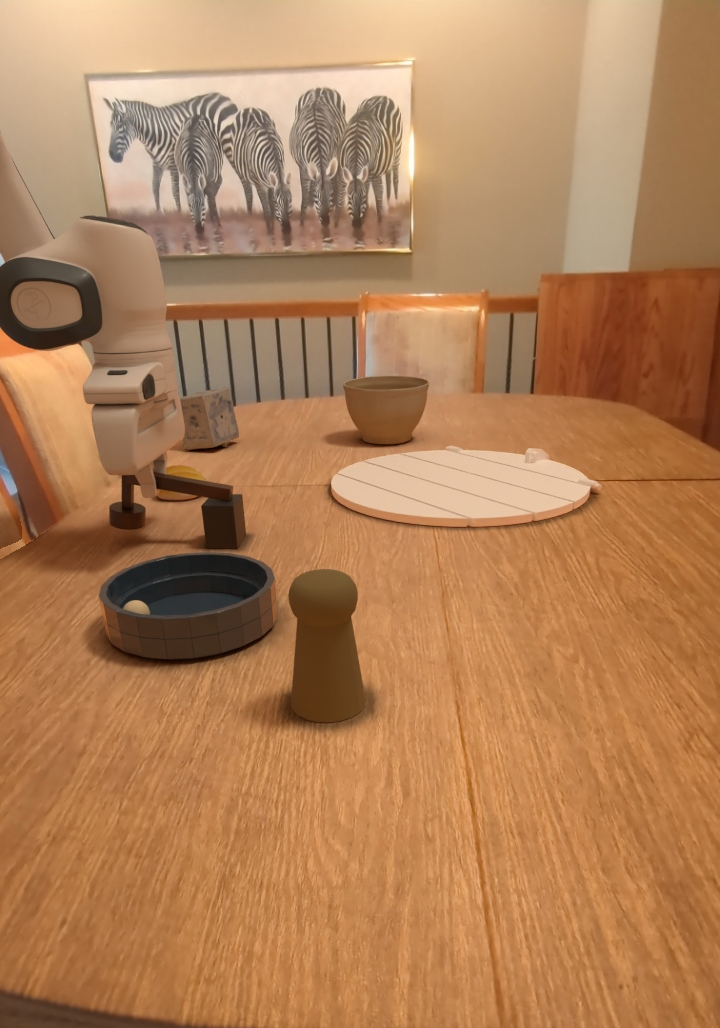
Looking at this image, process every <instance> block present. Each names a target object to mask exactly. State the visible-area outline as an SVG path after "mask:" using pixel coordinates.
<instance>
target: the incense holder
mask: <svg viewBox="0 0 720 1028" xmlns="http://www.w3.org/2000/svg"><path fill="white" fill-rule="evenodd" d="M179 397H180V402H181V407H182V412H183V418H184V425H185V434H184V438H183V439H182V442H183V444H182V445H183V447H184V449H185V450H186V451H191V450H199V449H210V448H211V449H212V448H215V447H218V446H221V447H223V448H228V447H229V445H230V442H231V441H233V440H235V439H238V438H240V431H239V427H238V422H237V421H238V420H237V418H236V413H235V408H234V403H233V399H232V394H231V390H230V388H229V387H228V386H227V387H225V386H224V387H219V388H213V389H209V390H208V389H207V390H202V391H196V392H195V393H194V394H189V395H185V396H179Z"/></svg>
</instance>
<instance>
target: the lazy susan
mask: <svg viewBox="0 0 720 1028" xmlns="http://www.w3.org/2000/svg"><path fill="white" fill-rule="evenodd" d="M330 488H331V489H330V491H331V495H332V497H333V498H334V499H335V500H336V502H338V503H339V504H340V505H342V506H344V507H346V508H348V509H350V510H352V511H355V512H357V513H360V514H363V515H367V516H370V517H373V518H377V519H381V520H387V521H390V522H391V521H392V522H398V523H404V524H411V525H412V524H413V525H419V526H431V527H432V526H433V527H449V528H450V527H454V528H456V527H457V528H458V527H459V528H467V527H470V528H473V527H476V528H478V527H481V528H482V527H499V526H509V525H519V524H525V523H532V522H537V521H542V520H543V521H544V520H547V519H551V518H554V517H559V516H562V515H565V514H567V513H570V512H572V511H574V510H576V509H577V508H578V509H579V507H581V506H582V505H584V504H585V503H586V502H587V501H588V500H589V497H590V494H591V489H593V490H596V491H601V490H602V488H603V485H602V484H601V483H599V482H598V481H597V480H593V479H589V478H588V477H587V475H586V474H585V473H583V472H581V471H579V470H578V469H576V468H574V467H572V466H569V465H567V464H564V463H561V462H558V461H555V460H551V457H550V455H549V454H548V452H546V451H545V450H544V449H543V448H538V447H537V448H535V447H534V448H533V447H528V448H527V450H526V451H525V454H520V453H513V452H505V451H497V450H496V451H494V450H481V449H480V450H477V449H463V448H462V447H459V446H454V445H448V446H445V448H444V449H436V450H434V449H433V450H418V451H409V452H401V453H395V454H394V453H392V454H386V455H381V456H377V457H372V458H367V459H365V460H361V461H357V462H355V463H353V464H350V465H348V466H346V467H344V468H342V469H340V470H339V471H337V472H336V473H335V474H334V475H333V477H332V478H331V481H330Z"/></svg>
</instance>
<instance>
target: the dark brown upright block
mask: <svg viewBox="0 0 720 1028" xmlns="http://www.w3.org/2000/svg"><path fill="white" fill-rule="evenodd" d="M244 507H245V506H244V498H243V493H233V496H232V499H231V500H230V501H223V500H218V499H212V498H207V499H206V500H205V501H204V502H202V504H201V506H200V508H201V517H202V525H203V532H204V533H203V534H204V540H205V548H206V549H232V550H233V549H234V550H235V549H237V550H238V549H239V548H240V546H241V544H242V542H243V541H244V540H245V538H246V537H247V528H246V520H245V509H244Z"/></svg>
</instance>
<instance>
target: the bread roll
mask: <svg viewBox="0 0 720 1028" xmlns="http://www.w3.org/2000/svg"><path fill="white" fill-rule="evenodd" d="M166 474H168V475H174V476H180V477H186V478H191V479H197V480H203V481H208V479H207V478H206V477H204V475H203V474H202V473H201V472H200V471H199V470H197V469H196V468H194V467H191V466H188V465H182V464H178V465H177V464H175V465H170V466H167V468H166ZM156 497H157V498H159V499H160V500H163V501H187V500H192V499H196V498H199V496H195V495H189V494H183V493H178V492H172V491H166V490H162V491H160V492H159V494H158V495H157V496H156Z"/></svg>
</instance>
